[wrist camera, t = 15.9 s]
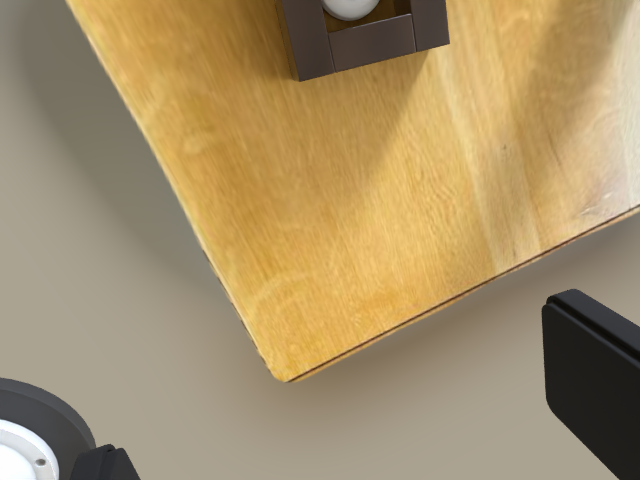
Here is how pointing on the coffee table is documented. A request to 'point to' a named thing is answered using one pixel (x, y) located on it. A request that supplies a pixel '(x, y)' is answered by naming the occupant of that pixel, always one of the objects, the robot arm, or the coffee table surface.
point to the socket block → (357, 36)
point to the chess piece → (349, 8)
